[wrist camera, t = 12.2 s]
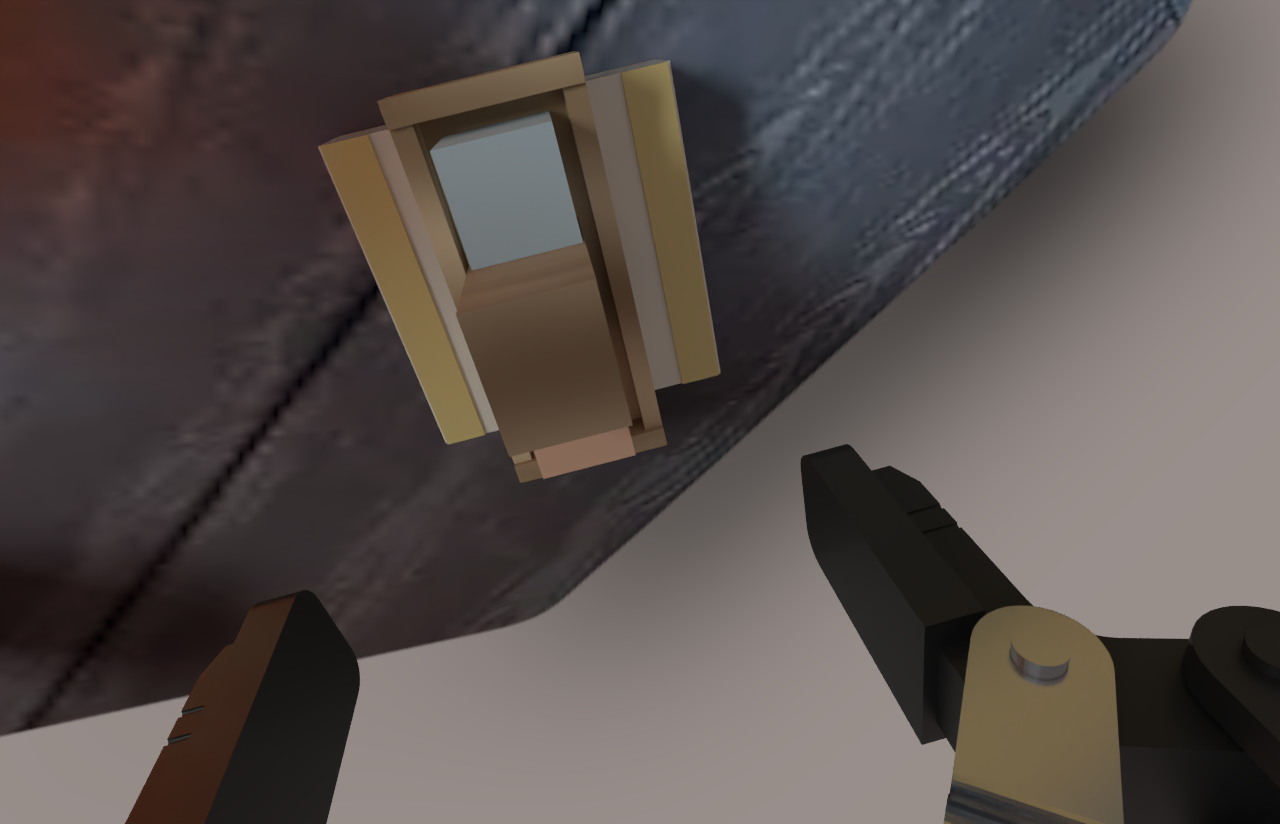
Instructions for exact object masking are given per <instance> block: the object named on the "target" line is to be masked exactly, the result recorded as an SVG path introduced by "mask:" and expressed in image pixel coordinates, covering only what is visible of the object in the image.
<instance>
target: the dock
mask: <svg viewBox="0 0 1280 824" xmlns="http://www.w3.org/2000/svg"><path fill="white" fill-rule="evenodd" d="M585 80H586V87H587V91H588V96H589V100H590V105H591V109H592V114H593V118H594V123H595V127H596V131H597V136H598V140H599V145H600V149H601V154H602V158H603V163H604V167H605V172H606V176H607V180H608V185H609V189H610V194H611V198H612V203H613V207H614V212H615V216H616V221H617V225H618V229H619V234H620V238H621V243H622V247H623V252H624V256H625V261H626V265H627V270H628V274H629V278H630V283H631V287H632V292H633V296H634V301H635V305H636V310H637V314H638V319H639V323H640V328H641V332H642V336H643V341H644V345H645V350H646V354H647V359H648V363H649V368H650V372H651V377H652V381H653V385H654V390H657V389H661V388H664V387H668V386H672V385H676V384H680V383H682V384H685V383H689V382H693V381H697V380H701V379H705V378H709V377H713V376H717V375H719V373H721V372H720V366H719V360H718V353H717V347H716V341H715V335H714V329H713V323H712V316H711V310H710V304H709V298H708V292H707V286H706V280H705V273H704V267H703V261H702V255H701V249H700V243H699V236H698V230H697V224H696V218H695V212H694V206H693V199H692V193H691V187H690V181H689V175H688V169H687V163H686V156H685V150H684V144H683V138H682V132H681V126H680V119H679V113H678V107H677V101H676V95H675V89H674V83H673V76H672V70H671V64H670V61H669V60H659V59H653V60H649V61H645V62H641V63H637V64H633V65H629V66H624V67H620V68H616V69H612V70H608V71H604V72H600V73H596V74H592V75H588V76H585ZM318 149H319V151H320V153H321V155H322V158H323V160H324V162H325V165H326V167H327V169H328V172H329V174H330V176H331V179H332V181H333V183H334V186H335V188H336V190H337V192H338V195H339V197H340V199H341V202H342V204H343V206H344V209H345V211H346V213H347V216H348V218H349V220H350V223H351V225H352V227H353V230H354V232H355V234H356V236H357V239H358V241H359V243H360V246H361V248H362V250H363V253H364V255H365V257H366V260H367V262H368V264H369V267H370V269H371V271H372V274H373V276H374V278H375V280H376V283H377V285H378V287H379V290H380V292H381V294H382V297H383V299H384V301H385V304H386V306H387V308H388V311H389V313H390V315H391V317H392V320H393V322H394V324H395V327H396V329H397V331H398V334H399V336H400V338H401V341H402V343H403V345H404V348H405V350H406V352H407V355H408V357H409V359H410V361H411V364H412V366H413V368H414V371H415V373H416V375H417V378H418V380H419V382H420V385H421V387H422V389H423V392H424V394H425V396H426V398H427V401H428V403H429V405H430V408H431V410H432V412H433V415H434V417H435V419H436V422H437V424H438V426H439V429H440V431H441V433H442V436H443V438H444V440H445V442H446V444H447V443H448V444H452V443H456V442H460V441H464V440H468V439H472V438H476V437H479V436H483V435H485V434H486V433H489V432H493V431H497V430H499V428H498V425H497V423H496V420H495V418H494V415H493V412H492V410H491V407H490V404H489V402H488V399H487V396H486V394H485V391H484V388H483V386H482V383H481V380H480V378H479V375H478V372H477V370H476V367H475V364H474V362H473V359H472V357H471V354H470V351H469V349H468V346H467V343H466V341H465V338H464V335H463V333H462V330H461V327H460V325H459V322H458V319H457V317H456V312H457V309H456V307H455V304H454V301H453V299H452V296H451V293H450V291H449V288H448V285H447V283H446V280H445V277H444V275H443V272H442V269H441V267H440V264H439V261H438V259H437V256H436V253H435V251H434V248H433V245H432V243H431V240H430V237H429V235H428V232H427V229H426V227H425V224H424V221H423V219H422V216H421V213H420V211H419V208H418V205H417V203H416V200H415V197H414V195H413V192H412V189H411V187H410V184H409V181H408V179H407V176H406V173H405V171H404V168H403V165H402V163H401V160H400V157H399V155H398V152H397V149H396V147H395V144H394V141H393V139H392V136H391V133H390V131H389V130H387V127H386V125H382V126H378V127H374V128H370V129H366V130H362V131H358V132H354V133H350V134H346V135H341V136H339V137H337V138H335V139H332V140H330V141H328V142H326V143H324V144H322V145H320V146H318Z"/></svg>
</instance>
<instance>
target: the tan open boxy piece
mask: <svg viewBox="0 0 1280 824" xmlns="http://www.w3.org/2000/svg"><path fill="white" fill-rule="evenodd" d="M377 103H378V106H379V108H380V111H381V114H382V116H383V119H384V122H385V124H386V127H387V130H389V131H390V133H391V136H392V139H393V141H394V144H395V147H396V149H397V152H398V155H399V157H400V160H401V163H402V165H403V168H404V171H405V173H406V176H407V179H408V181H409V184H410V187H411V189H412V192H413V195H414V197H415V200H416V203H417V205H418V208H419V211H420V213H421V216H422V219H423V221H424V224H425V227H426V229H427V232H428V235H429V237H430V240H431V243H432V245H433V248H434V251H435V253H436V256H437V259H438V261H439V264H440V267H441V269H442V272H443V275H444V277H445V280H446V283H447V285H448V288H449V291H450V293H451V296H452V299H453V301H454V304H455V307H456V309H457V312H456V317H457V319H458V322H459V325H460V327H461V330H462V333H463V335H464V338H465V341H466V343H467V346H468V349H469V351H470V354H471V357H472V359H473V362H474V364H475V367H476V370H477V372H478V375H479V378H480V380H481V383H482V386H483V388H484V391H485V394H486V396H487V399H488V402H489V404H490V407H491V410H492V412H493V415H494V418H495V420H496V423H497V425H498V428H499V431H500V433H501V436H502V439H503V441H504V444H505V447H506V449H507V452H508V455H509V457H512V459H513V462H514V467H515V470H516V473H517V475H518V478H519V481H520V483H523V482H526V481H530V480H534V479H538V478H542V474H541V471H540V468H539V465H538V462H537V460H536V457H535V454H534V451H535V450H539V449H543V448H547V447H551V446H554V445H558V444H562V443H566V442H570V441H574V440H578V439H582V438H585V437H589V436H593V435H597V434H601V433H605V432H609V431H613V430H616V429H620V428H624V427H629V431H630V435H631V438H632V442H633V446H634V450H635V453H638V452H642V451H646V450H650V449H653V448H657V447H661V446H665V445H667V442H666V437H665V433H664V429H663V426H662V421H661V417H660V412H659V408H658V403H657V399H656V394H655V390H654V385H653V381H652V377H651V372H650V368H649V363H648V359H647V354H646V350H645V345H644V341H643V336H642V332H641V328H640V323H639V319H638V314H637V310H636V305H635V301H634V296H633V292H632V287H631V283H630V278H629V274H628V270H627V265H626V261H625V256H624V252H623V247H622V243H621V238H620V234H619V229H618V225H617V221H616V216H615V212H614V207H613V203H612V198H611V194H610V189H609V185H608V180H607V176H606V172H605V167H604V163H603V158H602V154H601V149H600V145H599V140H598V136H597V131H596V127H595V123H594V118H593V114H592V109H591V105H590V100H589V96H588V91H587V87H586V80H585V76H584V72H583V67H582V63H581V58H580V54H579V52H575V51H573V52H569V53H565V54H560V55H556V56H552V57H548V58H544V59H540V60H536V61H532V62H528V63H523V64H519V65H515V66H511V67H507V68H503V69H499V70H495V71H490V72H486V73H482V74H478V75H474V76H470V77H466V78H462V79H458V80H453V81H449V82H445V83H441V84H437V85H433V86H429V87H425V88H420V89H416V90H412V91H408V92H404V93H400V94H396V95H392V96H390V97H387V98H384V99H381V100H379V101H377ZM548 110H549V114H550V117H551V120H552V124H553V127H554V131H555V135H556V139H557V143H558V147H559V151H560V155H561V159H562V163H563V167H564V170H565V174H566V178H567V182H568V186H569V190H570V194H571V198H572V202H573V206H574V210H575V213H576V217H577V221H578V225H579V229H580V233H581V237H582V241H583V243H579V244H575V245H571V246H567V247H564V248H560V249H556V250H552V251H548V252H544V253H540V254H536V255H532V256H528V257H524V258H520V259H516V260H512V261H508V262H504V263H500V264H496V265H492V266H488V267H484V268H480V269H476V270H471V267H470V265H469V262H468V259H467V256H466V253H465V250H464V248H463V245H462V242H461V239H460V236H459V233H458V230H457V228H456V225H455V222H454V219H453V216H452V213H451V211H450V208H449V205H448V202H447V199H446V196H445V194H444V191H443V188H442V185H441V182H440V179H439V176H438V174H437V171H436V168H435V165H434V162H433V159H432V157H431V154H430V150H431V149H432V148H433V147H434V146H435V145H436V144H437V143H438V142H439V141H440V140H441V139H442V138H443V136H447V135H451V134H455V133H459V132H463V131H467V130H471V129H475V128H479V127H483V126H488V125H492V124H496V123H500V122H504V121H508V120H512V119H516V118H520V117H524V116H528V115H532V114H536V113H540V112H544V111H548Z"/></svg>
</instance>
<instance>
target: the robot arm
mask: <svg viewBox="0 0 1280 824" xmlns="http://www.w3.org/2000/svg"><path fill="white" fill-rule="evenodd" d="M801 474H802V484H803V494H804V503H805V512H806V522H807V530H808V535H809V539H810V542H811V545H812V549H813V552H814V554H815V557H816V559H817V561H818V563H819V565H820V567H821V569H822V570H823V572H824V574H825V576H826V577H827V579H828V580H829V583H830V584H831V586H832V588H833V589H834V591H835V593H836V595H837V597H838V599H839V600H840V602H841V604H842V606H843V607H844V609H845V611H846V613H847V614H848V616H849V618H850V620H851V621H852V623H853V625H854V627H855V628H856V630H857V632H858V634H859V635H860V637H861V639H862V640H863V642H864V644H865V646H866V647H867V649H868V651H869V653H870V655H871V656H872V658H873V660H874V662H875V663H876V665H877V667H878V669H879V670H880V672H881V674H882V676H883V677H884V679H885V681H886V683H887V684H888V686H889V688H890V690H891V691H892V693H893V695H894V697H895V698H896V700H897V702H898V704H899V705H900V707H901V709H902V711H903V712H904V714H905V716H906V718H907V719H908V721H909V723H910V725H911V726H912V728H913V730H914V732H915V733H916V735H917V737H918V739H919V741H920V742H921V744H922V745H923V744H926V743H930V742H934V741H937V740H940V739H944V738H947V740H948V741H949V743H950V745H951V746H952V748H953V749H954V751H955V760H954V767H953V775H952V783H951V789H950V793H949V795H948V799H947V805H946V811H945V818H944V824H1280V612H1278V611H1275V610H1271V609H1265V608H1260V607H1251V606H1229V607H1222V608H1218V609H1215V610H1212V611H1209V612H1208V613H1206V614H1204V615H1202V616H1201V617H1200V618H1199V619H1198V620H1197V621H1196V623H1195V625H1194V627H1193V629H1192V632H1191V636H1190V638H1189V639H1149V638H1147V639H1145V638H1143V639H1142V638H1111V637H1103V636H1097V635H1094V634H1093V633H1092V632H1091V631H1090V630H1089V629H1087V628H1086V627H1085V626H1083V625H1082V624H1080V623H1079V622H1077V621H1075V620H1074V619H1071V618H1070V617H1068V616H1065V615H1063V614H1061V613H1058V612H1055V611H1053V610H1049V609H1045V608H1041V607H1034V606H1033V605H1032V604H1031V603H1030V602H1029V601H1028V600H1026V598H1025V597H1024V596H1023V595H1022V594H1021V593H1020V592H1019V591H1018V590H1017V588H1016V587H1015V586H1014V585H1013V584H1012V583H1011V582H1010V581H1009V580H1008V578H1007V577H1006V576H1005V575H1004V574H1003V573H1002V572H1001V571H1000V570H999V569H998V567H997V566H996V565H995V564H994V563H993V562H992V561H991V560H990V559H989V558H988V556H987V555H986V554H985V553H984V552H983V551H982V550H981V549H980V548H979V546H978V545H977V544H976V543H975V542H974V541H973V540H972V539H971V538H970V536H969V535H968V534H967V533H966V532H965V531H964V530H963V529H962V528H959V527H958V526H957V522H956V521H955V520H954V519H953V518H952V517H951V515H950V514H949V513H948V512H947V511H946V510H945V509H944V508H943V509H942V508H941V506H940V503H939V502H938V501H937V500H936V499H935V498H934V497H933V496H932V495H931V493H930V492H929V491H928V490H927V489H926V488H925V487H924V486H923V485H922V483H921V482H920V481H918V480H916V479H914V478H912V477H910V476H908V475H906V474H904V473H902V472H901V471H899V470H897V469H895V468H893V467H891V466H887V467H883V468H880V469H877V470H873V471H871V470H870V468H869V467H868V466H867V465H866V463H865V462H864V461H863V460H862V459H861V457H860V456H859V455H858V454H857V452H856V451H855V450H854V449H853V448H852V447H851V446H850V445H848V444H845V445H842V446H838V447H834V448H831V449H827V450H823V451H820V452H816V453H812V454H808V455H805V456H803V457H802V458H801ZM359 686H360V674H359V667H358V662H357V659H356V656H355V654H354V652H353V650H352V648H351V647H350V646H349V644H348V643H347V641H346V640H345V638H344V637H343V635H342V634H341V632H340V631H339V629H338V628H337V626H336V625H335V623H334V622H333V620H332V619H331V617H330V616H329V614H328V613H327V611H326V610H325V608H324V607H323V605H322V604H321V602H320V601H319V599H318V598H317V596H316V595H315V594H314V593H312V592H311V591H308V590H303V591H300V592H296V593H292V594H289V595H285V596H281V597H277V598H274V599H270V600H266V601H263V602H259V603H257V604H255V605H254V606H252V608H251V609H250V610H249V612H248V614H247V616H246V618H245V620H244V622H243V625H242V627H241V629H240V631H239V633H238V635H237V637H236V639H235V641H234V644H231V645H227V646H225V648H224V649H223V650H222V651H221V652H220V653H219V655H218V656H217V657H216V658H215V659H214V660H213V661H212V663H211V664H210V665H209V666H208V667H207V668H206V670H205V671H204V672H203V673H202V674H201V675H200V677H199V678H198V679H197V681H196V683H195V685H194V687H193V689H192V691H191V693H190V695H189V697H188V700H187V701H186V703H185V706H184V707H183V709H182V714H183V715H182V717H180V718H178V719H177V721H176V723H175V725H174V727H173V729H172V731H171V733H170V735H169V737H168V746H164V747H163V749H162V751H161V753H160V755H159V757H158V759H157V761H156V763H155V765H154V767H153V769H152V771H151V773H150V775H149V777H148V779H147V781H146V783H145V785H144V787H143V789H142V791H141V793H140V795H139V797H138V799H137V801H136V803H135V805H134V807H133V809H132V811H131V813H130V815H129V817H128V819H127V821H126V823H125V824H326V822H327V818H328V814H329V810H330V806H331V802H332V798H333V794H334V790H335V786H336V781H337V778H338V774H339V770H340V766H341V762H342V757H343V754H344V749H345V745H346V741H347V737H348V733H349V729H350V725H351V721H352V717H353V713H354V708H355V705H356V701H357V697H358V692H359Z"/></svg>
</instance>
